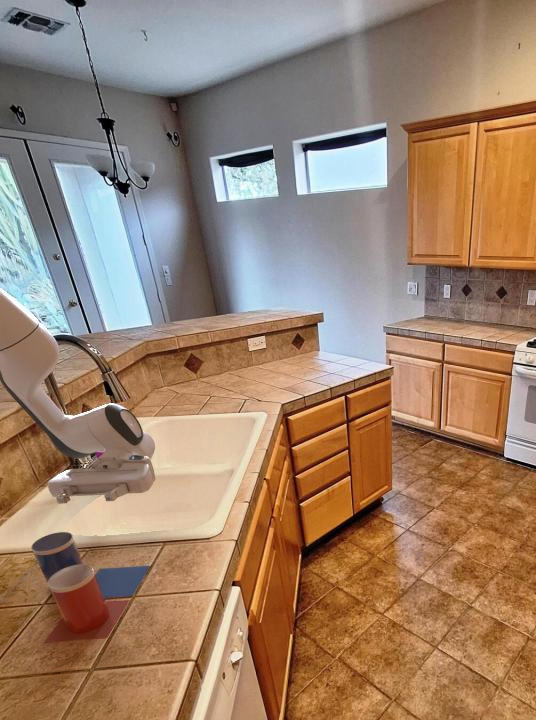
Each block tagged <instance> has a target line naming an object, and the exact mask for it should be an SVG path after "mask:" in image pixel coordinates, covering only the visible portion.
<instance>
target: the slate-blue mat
mask: <svg viewBox="0 0 536 720" xmlns="http://www.w3.org/2000/svg"><path fill="white" fill-rule="evenodd" d="M151 567H152V565H140V566H139V565H138V566H122V567H107V568H105V567H104V568H103V567H102V568H99V569H98V570H97V571H96V573H95V575H96V578H97V581H98V583H99V586H100V589H101V591H102V594H103V596H104V599H112V598H113V599H114V598H128V597H133V596H134V595H135V594H136V591H137V590H138V588H139V587H140V584H142V582H143V580H144V578H145V577H146V575H147V573H148V572H149V570H150V568H151Z"/></svg>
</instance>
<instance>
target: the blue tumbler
mask: <svg viewBox="0 0 536 720" xmlns="http://www.w3.org/2000/svg"><path fill="white" fill-rule="evenodd" d="M31 551H32V553H33V555H34V558H35V559H36V561H37V563H38V565H39V568H40V570H41V572H42V575H43V577H44V579H45V581H46V583H47V585H48V581H49V579H50V578H51V577H52V576H53V575H54V574H55V573H57V572H58V571H60V570H62V569H64V568H67V567H70V566H73V565H78V564H84V561H83V559H82V556H81V554H80V552H79V549H78V546H77V544H76V542H75V538H74V536H73V534H72V533H71V532H69V531H59V532H53V533H49V534H47V535H44V536H42V537H40V538H38V539H36V540H35V541H34V542H33V543H32V544H31Z"/></svg>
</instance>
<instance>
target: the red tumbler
mask: <svg viewBox="0 0 536 720" xmlns="http://www.w3.org/2000/svg"><path fill="white" fill-rule="evenodd" d="M95 574H96V573H95V570H94V568H93V566H92V565H90V564H87V563H83V564H78V565H73V566H70V567H67V568H64V569H62V570H60V571H58V572H57V573H55V574H54V575H53V576H52V577H51V578H50V579H49V581H48V584H47V586H48V589H49V590H50V592H51V594H52V597H53V599H54V601H55V604H56V606H57V608H58V610H59V612H60V614H61V618H62V617H63V619H64V621H65V623H66V625H67V628H68V630H69V631H70V632H72V633H77V634H79V633H86V632H89V631H92V630H94V629H96V628H98V627H99V626H101V625H102V624H103V623H104V622H105V621H106V620H107V619H108V617H109V614H110V613H109V609H108V607H107V604H106V598H104V596H103V594H102V591H101V589H100V586H99V583H98V581H97V578H96V575H95Z"/></svg>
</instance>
